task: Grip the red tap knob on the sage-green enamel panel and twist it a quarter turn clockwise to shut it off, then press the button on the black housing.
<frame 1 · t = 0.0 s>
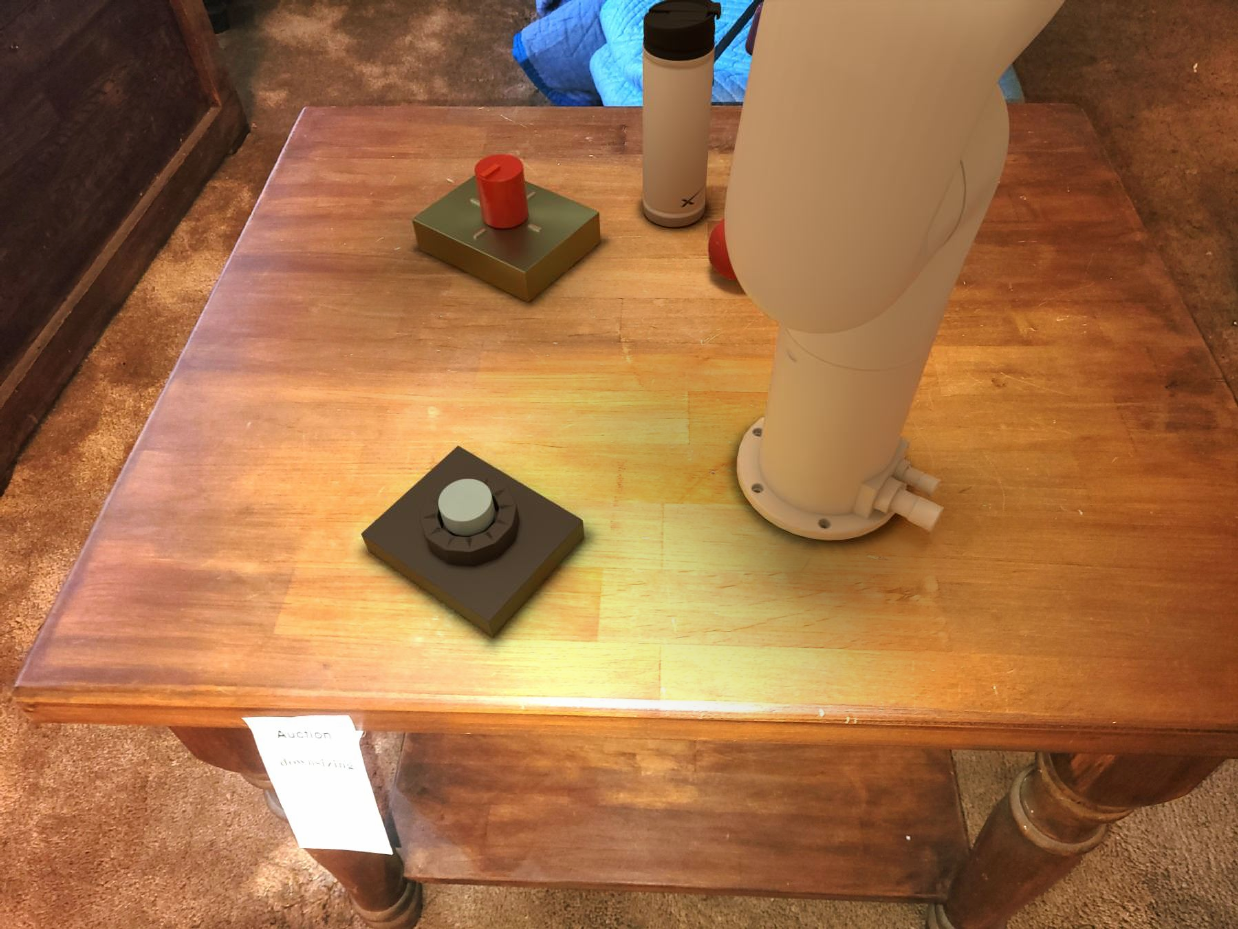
toy lamp: (756, 170, 93), on the table
tap knob: (501, 189, 81), point 6 cm above the table, hinge at 90.0°
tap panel: (509, 245, 85), on the table
kendama: (801, 270, 82), on the table
button box: (476, 544, 63), on the table
travel mug: (675, 211, 89), on the table
button: (466, 507, 60), point 4 cm above the table, slide at 0.1 cm
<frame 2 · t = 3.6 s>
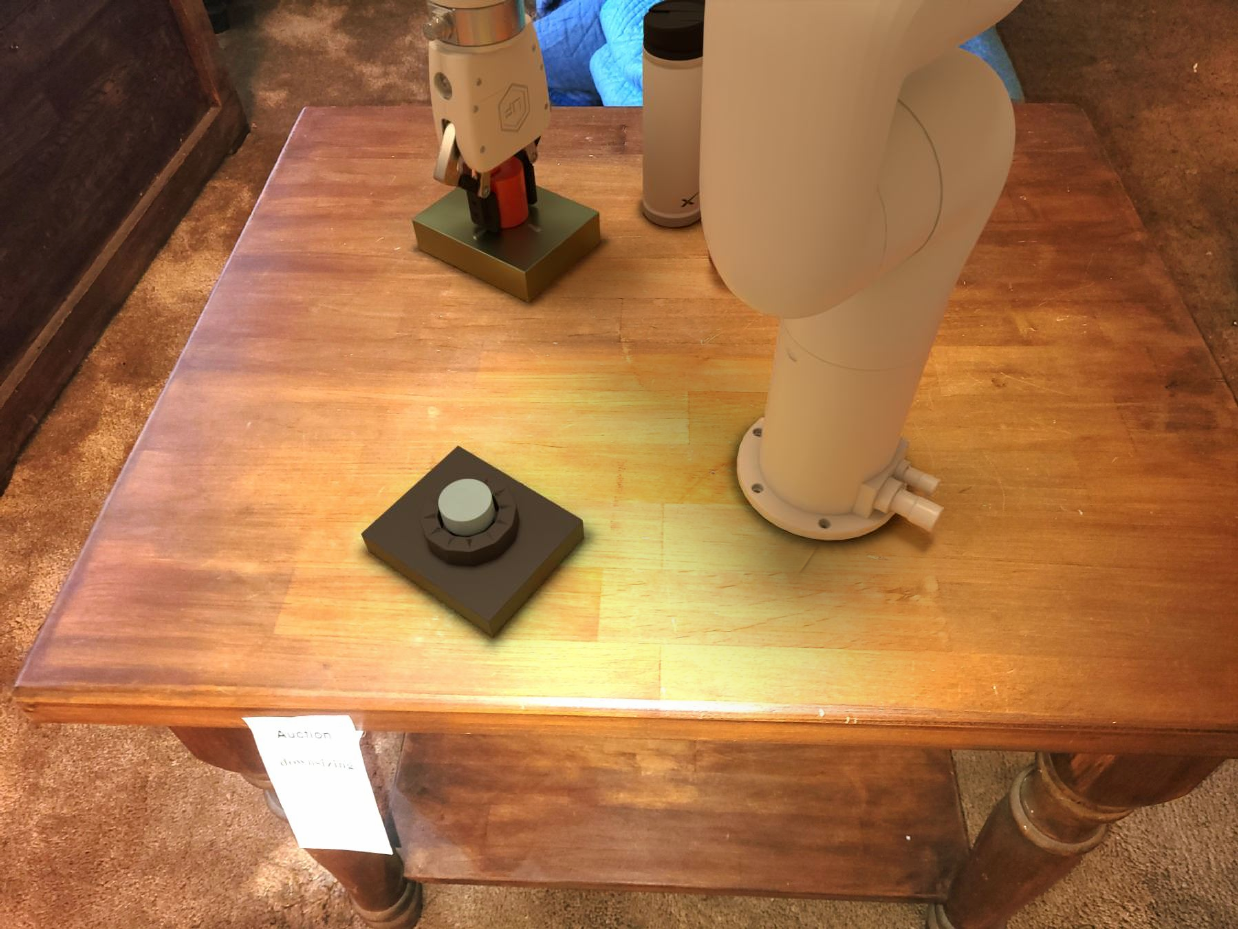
hand: (504, 210, 82), 4 cm above the table, tool pointing down, fingers closed on tap knob, 4 cm apart
tap knob: (501, 189, 81), point 6 cm above the table, hinge at 89.9°, touching gripper
everything else where it was.
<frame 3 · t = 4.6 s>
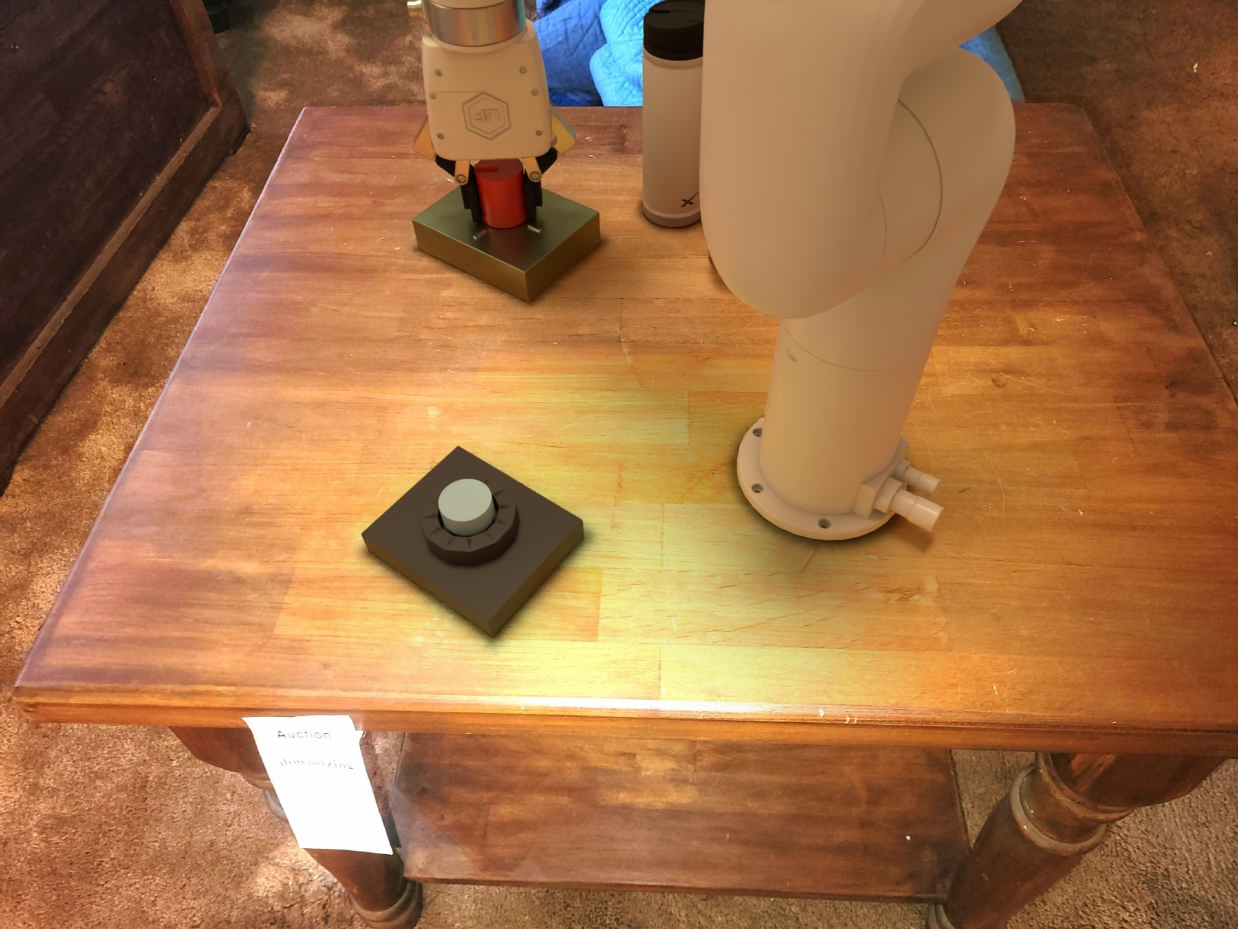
hand: (504, 210, 82), 4 cm above the table, tool pointing down, fingers closed on tap knob, 4 cm apart
tap knob: (501, 189, 81), point 6 cm above the table, hinge at 38.8°, touching gripper
everything else where it was.
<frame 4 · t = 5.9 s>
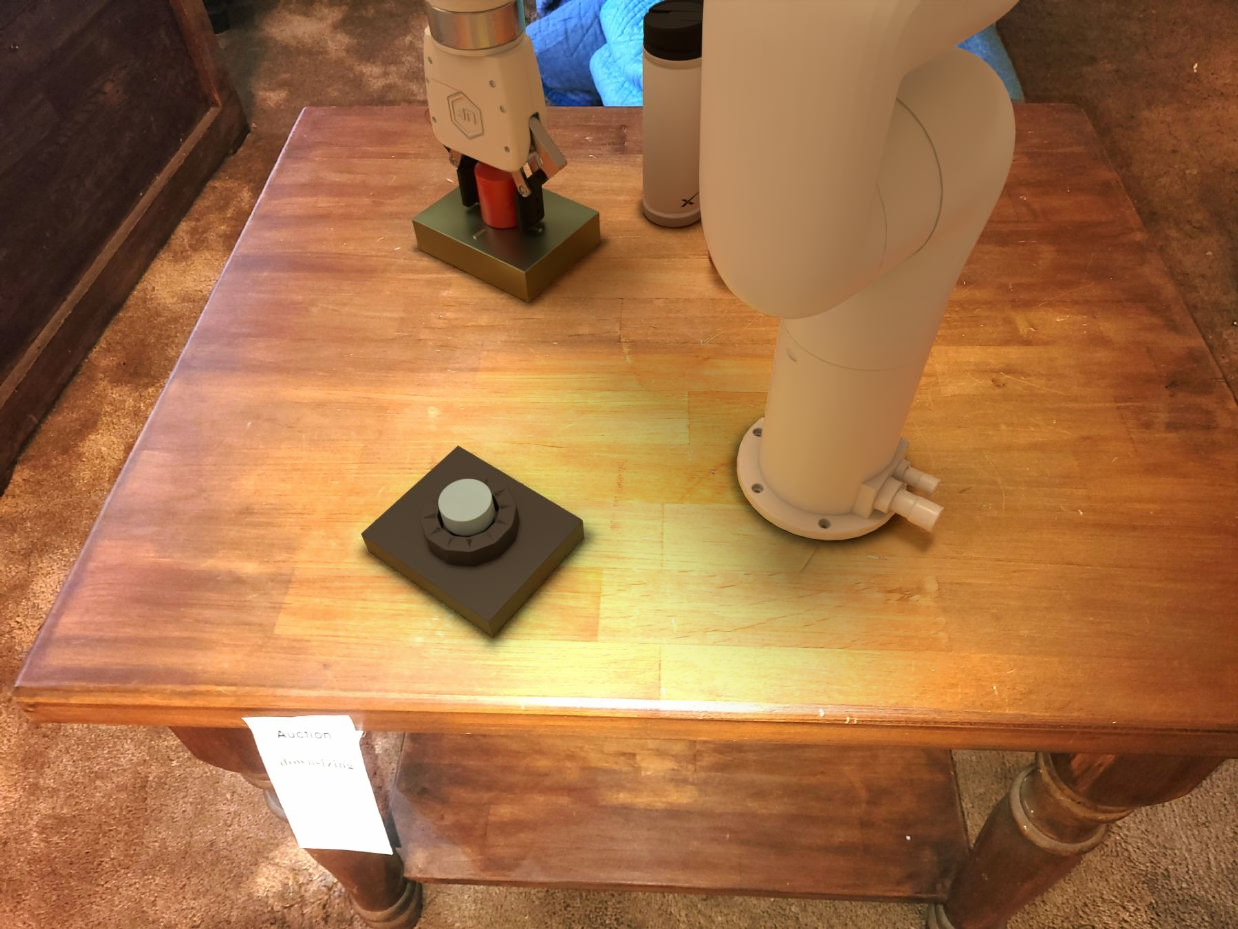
hand: (503, 210, 82), 4 cm above the table, tool pointing down, fingers open, 6 cm apart
tap knob: (501, 189, 81), point 6 cm above the table, hinge at 0.0°
everything else where it was.
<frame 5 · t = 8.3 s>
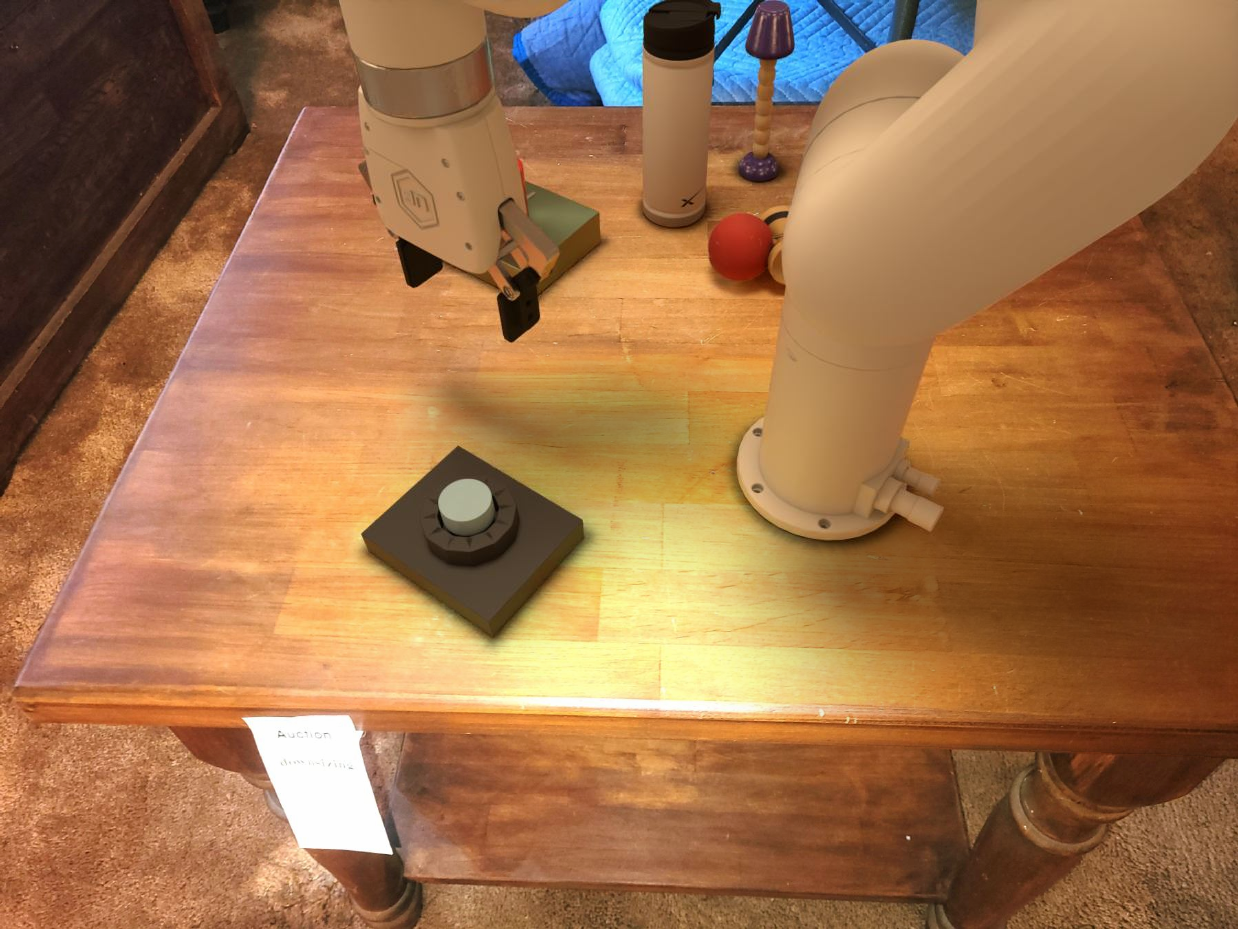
hand: (472, 303, 63), 11 cm above the table, tool pointing down, fingers open, 9 cm apart
nothing on the table moved.
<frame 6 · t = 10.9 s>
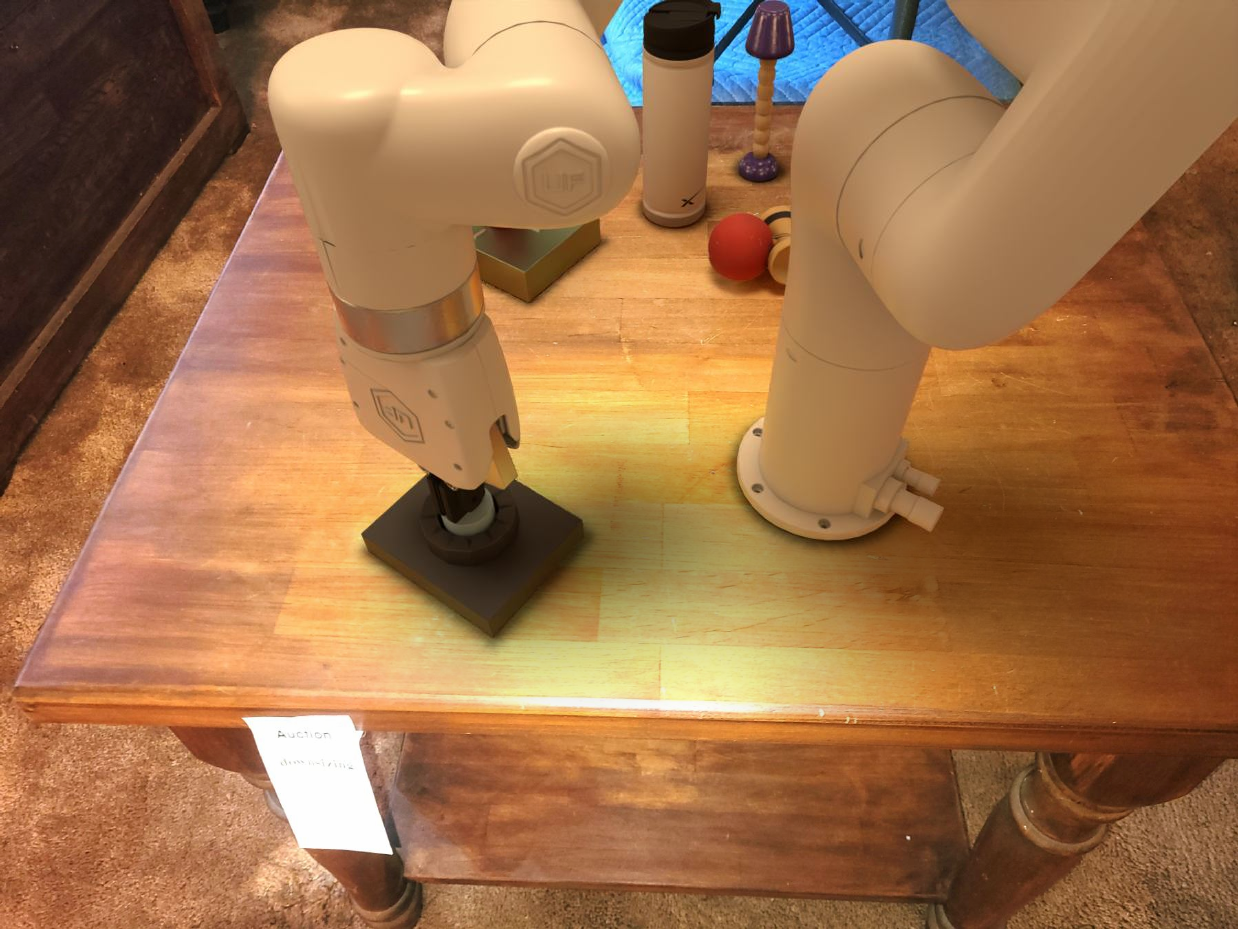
hand: (461, 504, 59), 5 cm above the table, tool pointing down, fingers closed
button: (468, 511, 60), point 4 cm above the table, slide at -0.4 cm, touching gripper
everything else where it was.
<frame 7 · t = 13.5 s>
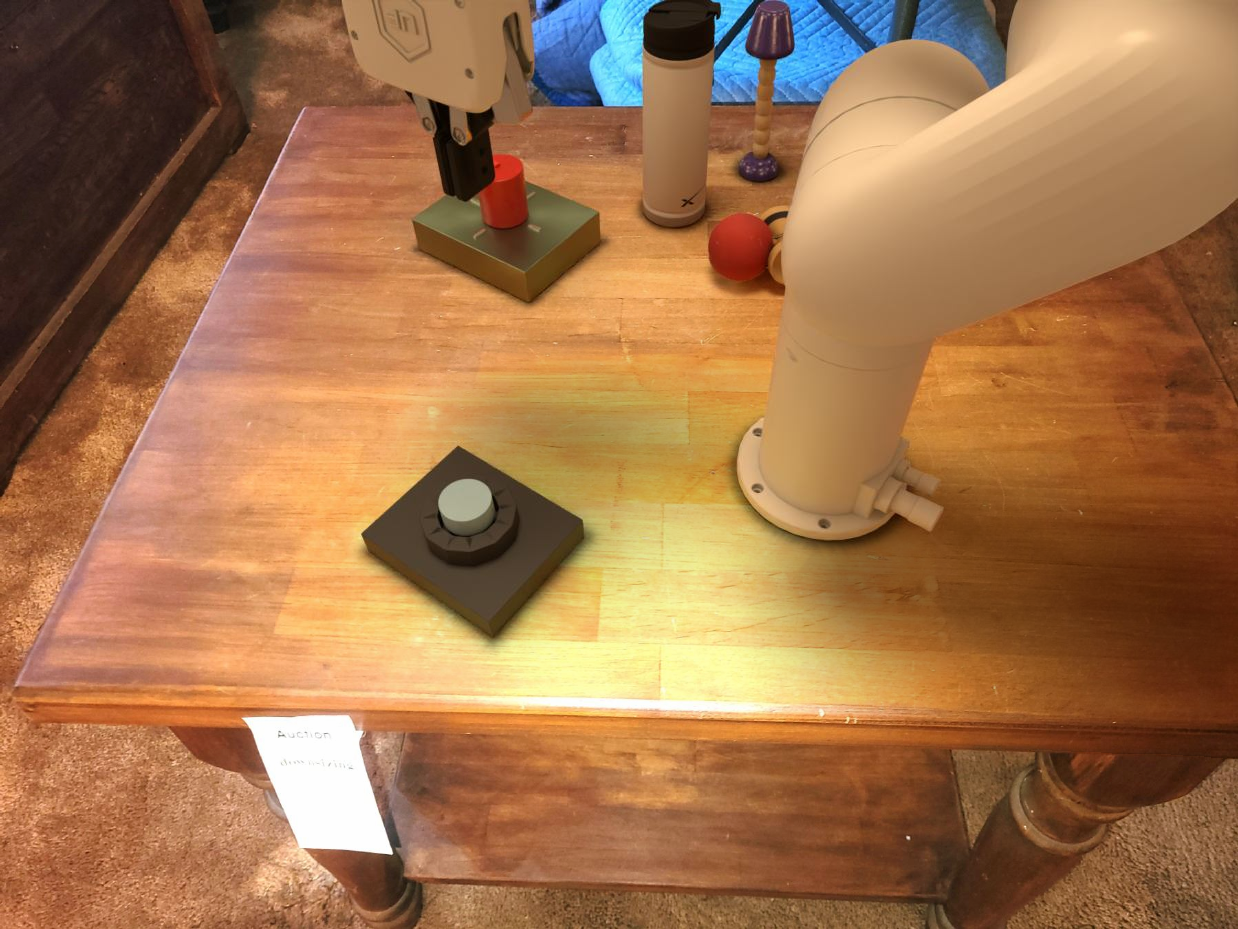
hand: (470, 187, 55), 21 cm above the table, tool pointing down, fingers closed
button: (466, 507, 60), point 4 cm above the table, slide at 0.1 cm
everything else where it was.
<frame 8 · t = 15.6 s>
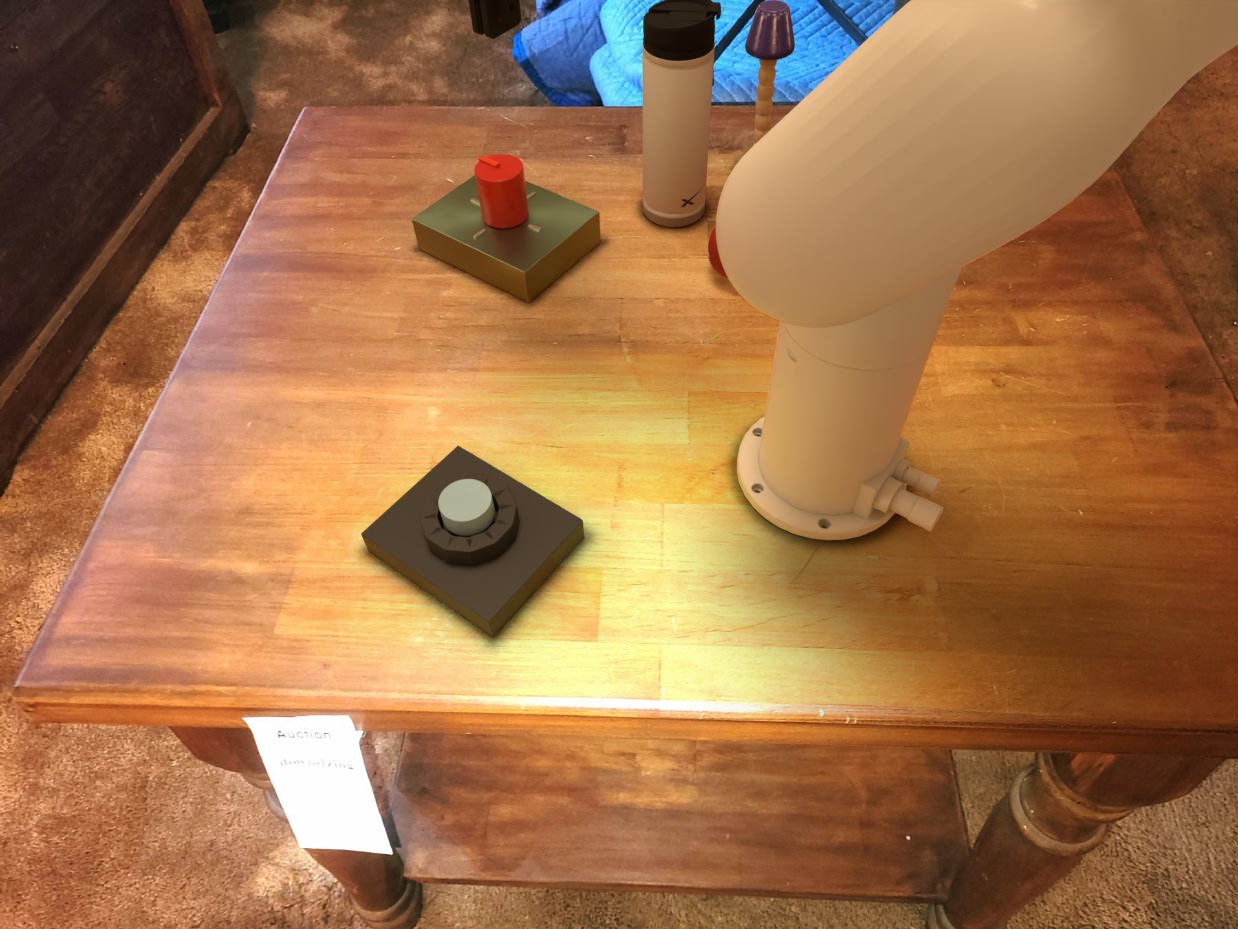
hand: (497, 27, 60), 25 cm above the table, tool pointing down, fingers closed
nothing on the table moved.
at the end: tap knob at +0° (first picture: +90°); button pushed in 1.1 cm at the most during the clip, back to where it started at the end; button slide at 0.1 cm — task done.
